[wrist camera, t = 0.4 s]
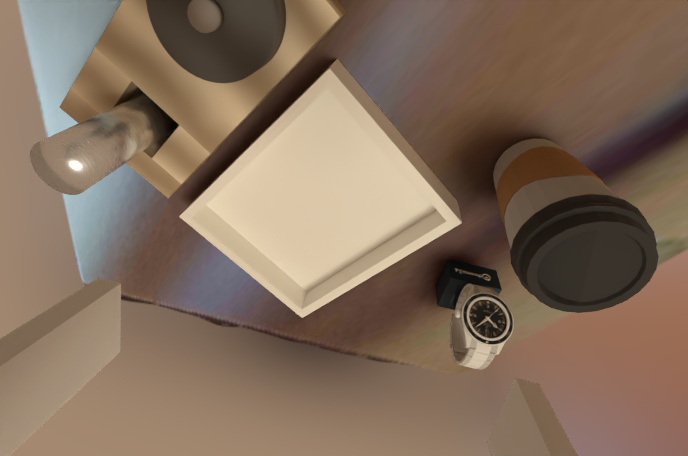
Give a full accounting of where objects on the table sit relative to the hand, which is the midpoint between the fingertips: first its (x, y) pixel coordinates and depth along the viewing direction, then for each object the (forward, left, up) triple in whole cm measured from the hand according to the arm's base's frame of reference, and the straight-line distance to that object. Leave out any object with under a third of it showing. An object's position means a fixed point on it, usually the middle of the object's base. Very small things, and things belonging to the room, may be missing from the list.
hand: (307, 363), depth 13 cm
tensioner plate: (+8, -13, -27) cm, 32 cm away
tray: (+10, +4, -27) cm, 30 cm away
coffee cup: (-8, +14, -28) cm, 32 cm away
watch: (+4, +22, -28) cm, 35 cm away
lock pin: (+15, -13, -28) cm, 34 cm away
